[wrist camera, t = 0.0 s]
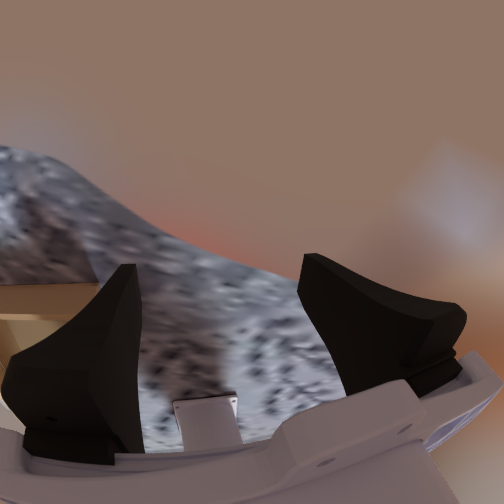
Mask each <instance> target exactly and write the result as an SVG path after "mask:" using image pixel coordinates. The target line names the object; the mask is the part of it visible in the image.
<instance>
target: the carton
mask: <svg viewBox="0 0 504 504" xmlns="http://www.w3.org/2000/svg"><path fill="white" fill-rule="evenodd" d="M99 291H100V286H99V282H96V283H72V284H43V285H5V286H0V362H1V364H2V366H3V367H4V369H5V370H6V369H7V366H8V363H9V361H10V358H11V356H12V355H14V354H17V353H19V352H21V351H23V350H25V349H27V348H29V347H31V346H33V345H34V344H36V343H38V342H40V341H41V340H43V339H45V338H46V337H48V336H49V335H51V334H52V333H54V332H55V331H57V330H58V329H59V328H60V327H62V326H63V325H64V324H66V323H67V322H68V321H70V320H71V319H72V318H73V317H74V316H76V315H77V314H78V313H79V312H80V311H81V310H82V309H83V308H84V307H85V306H86V305H87V304H88V303H89V302H90V301H91V300H92V299H93V298H94V297H95V296H96V294H97V293H98V292H99Z"/></svg>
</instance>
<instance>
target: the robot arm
mask: <svg viewBox="0 0 504 504" xmlns="http://www.w3.org/2000/svg"><path fill="white" fill-rule="evenodd" d="M297 293H298V295H299V298H300V301H301V303H302V305H303V308H304V310H305V312H306V313H307V315H308V317H309V318H310V320H311V322H312V323H313V325H314V327H315V328H316V330H317V332H318V333H319V335H320V337H321V338H322V340H323V342H324V343H325V345H326V347H327V349H328V351H329V353H330V355H331V357H332V359H333V362H334V364H335V366H336V368H337V371H338V374H339V376H340V379H341V381H342V384H343V387H344V390H345V393H346V396H347V397H344V398H341V399H337V400H334V401H330V402H327V403H323V404H320V405H317V406H314V407H311V408H309V409H306V410H304V411H301V412H298V413H297V414H295V415H294V416H292V417H290V418H289V419H287V420H285V421H284V422H282V424H281V425H280V426H279V427H278V428H277V430H276V431H275V432H274V434H273V435H272V438H271V439H267V440H263V441H258V442H252V443H247V444H243V442H242V438H241V435H240V432H239V428H238V425H237V421H236V414H237V403H238V397H237V395H229V396H221V397H213V398H204V399H194V400H182V401H174V402H173V408H174V412H175V416H176V420H177V423H178V427H179V431H180V434H181V435H182V440H183V446H184V452H172V453H147V454H145V450H144V444H143V437H142V430H141V421H140V411H139V400H138V382H137V370H138V357H139V347H140V337H141V328H142V302H141V296H140V290H139V284H138V277H137V270H136V264H121V265H120V266H119V268H118V269H117V270H116V271H115V272H114V274H113V275H112V276H111V278H110V279H109V280H108V281H107V283H106V284H105V285H104V286H103V287H102V289H101V290H100V291H99V292H98V293H97V294H96V296H95V297H94V298H93V299H92V300H91V301H90V302H89V303H88V304H87V305H86V306H85V307H84V308H83V309H82V310H81V311H80V312H79V313H78V314H77V315H76V316H74V317H73V318H72V319H71V320H70V321H68V322H67V323H66V324H64V325H63V326H62V327H60V328H59V329H58V330H57V331H55V332H54V333H52V334H51V335H49V336H48V337H46V338H45V339H43V340H41V341H40V342H38V343H36V344H34V345H33V346H31V347H29V348H27V349H25V350H23V351H21V352H19V353H17V354H14V355H12V356H11V358H10V361H9V363H8V366H7V369H6V372H5V375H4V378H3V381H2V384H1V389H0V393H1V396H2V399H3V400H4V402H5V403H6V405H7V406H8V408H9V409H10V410H11V411H12V412H13V414H14V415H15V416H16V417H17V418H18V419H19V420H20V421H21V423H22V424H23V425H24V426H25V427H26V428H25V434H24V435H22V434H20V433H19V432H16V431H13V430H8V429H4V428H0V500H1V501H3V502H5V503H7V504H460V503H459V501H458V500H457V498H456V496H455V495H454V493H453V491H452V490H451V488H450V486H449V485H448V483H447V481H446V480H445V478H444V477H443V475H442V473H441V472H440V470H439V469H438V467H437V465H436V464H435V462H434V461H433V459H432V457H431V456H430V454H429V452H430V451H432V450H433V449H435V448H436V447H437V446H439V445H440V444H442V443H443V442H444V441H446V440H447V439H449V438H450V437H451V436H452V435H454V434H455V433H456V432H458V431H459V430H460V429H462V428H463V427H464V426H465V425H467V424H468V423H469V422H470V421H472V420H473V419H474V418H475V417H476V416H477V415H478V414H479V413H480V412H481V411H482V410H483V409H484V407H486V406H487V404H488V403H489V402H490V401H491V400H492V399H493V398H494V397H495V395H496V394H497V393H498V392H499V390H501V388H502V387H503V386H504V383H503V381H502V380H501V379H500V378H499V377H498V375H497V374H496V373H495V372H494V371H493V370H492V369H491V368H490V366H489V365H488V364H487V363H486V362H485V361H484V360H483V358H482V357H481V356H480V355H479V354H478V353H477V352H476V351H475V350H473V351H472V352H470V353H468V354H466V355H465V356H463V357H462V358H460V359H459V360H458V361H457V360H456V359H455V358H454V356H455V355H456V351H455V350H454V349H453V348H452V347H453V346H454V344H455V343H456V341H457V339H458V338H459V336H460V334H461V332H462V330H463V329H464V326H465V324H466V320H467V314H466V312H465V311H464V310H463V309H462V308H461V307H460V306H459V305H457V304H456V303H450V302H442V301H435V300H429V299H425V298H420V297H416V296H412V295H409V294H406V293H402V292H399V291H396V290H393V289H391V288H388V287H386V286H383V285H380V284H378V283H376V282H374V281H371V280H369V279H367V278H365V277H363V276H361V275H359V274H357V273H355V272H353V271H351V270H349V269H348V268H346V267H344V266H342V265H340V264H338V263H336V262H334V261H333V260H331V259H329V258H327V257H325V256H322V255H320V254H317V253H310V254H304V258H303V264H302V269H301V274H300V279H299V284H298V289H297Z"/></svg>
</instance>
